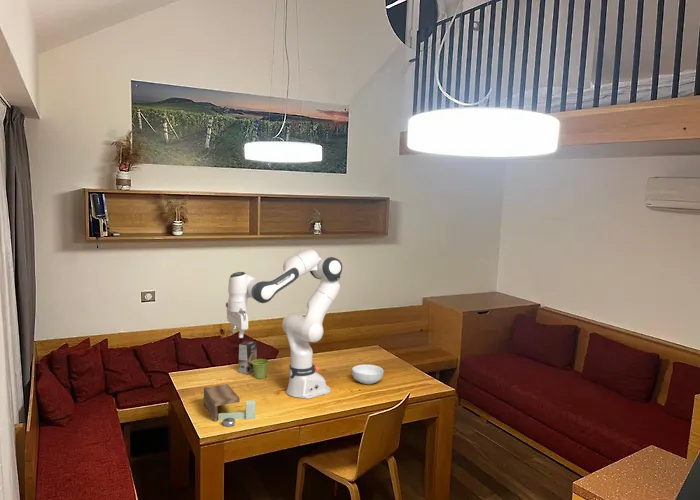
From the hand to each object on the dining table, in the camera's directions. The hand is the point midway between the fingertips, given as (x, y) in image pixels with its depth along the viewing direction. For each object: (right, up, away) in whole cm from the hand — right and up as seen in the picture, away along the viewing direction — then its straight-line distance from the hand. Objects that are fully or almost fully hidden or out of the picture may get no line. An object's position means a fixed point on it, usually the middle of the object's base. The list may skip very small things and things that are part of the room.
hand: (237, 334), depth 263 cm
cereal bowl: (+63, -31, +35) cm, 78 cm away
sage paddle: (+3, -35, -16) cm, 38 cm away
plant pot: (+5, -29, +35) cm, 46 cm away
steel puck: (+1, -36, -22) cm, 42 cm away
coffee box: (-3, -27, +44) cm, 52 cm away
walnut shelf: (-6, -34, -9) cm, 35 cm away
